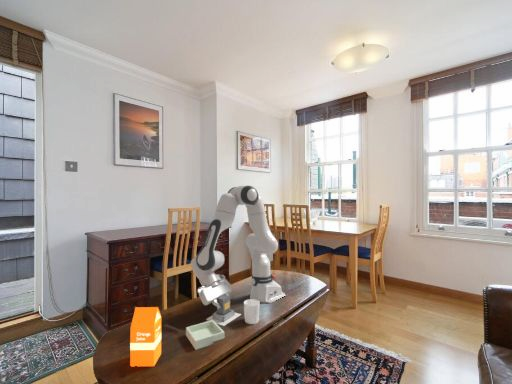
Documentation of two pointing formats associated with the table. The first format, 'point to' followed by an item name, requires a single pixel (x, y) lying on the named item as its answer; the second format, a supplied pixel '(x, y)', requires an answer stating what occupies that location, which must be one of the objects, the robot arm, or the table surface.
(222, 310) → the gray rectangular block
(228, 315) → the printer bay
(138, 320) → the orange juice
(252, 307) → the white cup
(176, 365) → the table surface
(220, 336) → the sage tray
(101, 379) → the table surface
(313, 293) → the table surface
